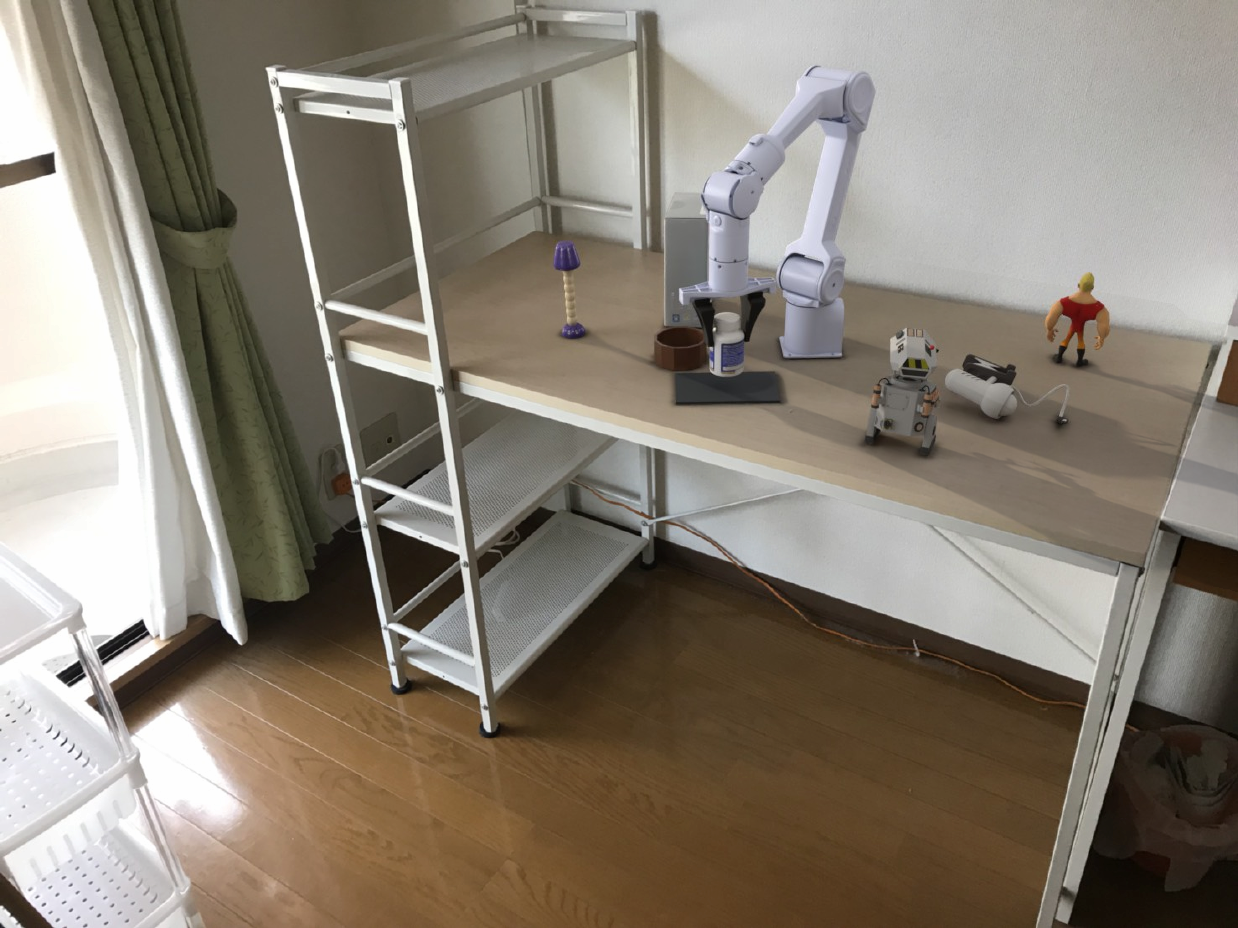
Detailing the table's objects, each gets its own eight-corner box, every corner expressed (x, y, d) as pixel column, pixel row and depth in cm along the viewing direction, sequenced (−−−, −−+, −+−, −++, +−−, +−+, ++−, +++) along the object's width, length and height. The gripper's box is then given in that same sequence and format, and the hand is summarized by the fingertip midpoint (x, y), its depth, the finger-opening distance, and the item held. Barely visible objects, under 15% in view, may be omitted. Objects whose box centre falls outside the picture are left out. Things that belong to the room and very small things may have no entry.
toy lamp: (581, 340, 173) (575, 248, 164) (555, 339, 174) (548, 247, 165) (587, 329, 177) (582, 238, 168) (562, 328, 178) (555, 237, 169)
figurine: (944, 425, 143) (958, 329, 135) (925, 463, 134) (939, 363, 127) (881, 413, 147) (892, 319, 139) (859, 449, 138) (869, 351, 130)
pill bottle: (749, 367, 154) (751, 314, 150) (733, 380, 151) (734, 326, 146) (719, 360, 157) (720, 307, 152) (702, 373, 153) (703, 319, 149)
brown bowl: (705, 347, 169) (705, 325, 167) (707, 369, 161) (707, 347, 159) (654, 348, 169) (654, 326, 167) (654, 370, 162) (653, 348, 160)
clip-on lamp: (1071, 425, 147) (960, 372, 155) (1091, 389, 144) (976, 336, 151) (1049, 452, 139) (932, 395, 146) (1069, 415, 135) (949, 357, 143)
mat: (774, 373, 159) (774, 371, 159) (780, 402, 151) (781, 400, 151) (674, 375, 160) (674, 373, 160) (675, 404, 152) (675, 402, 151)
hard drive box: (707, 329, 175) (708, 218, 165) (663, 328, 176) (662, 218, 166) (713, 295, 188) (715, 191, 178) (673, 294, 189) (672, 190, 179)
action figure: (1103, 363, 158) (1124, 273, 150) (1099, 372, 155) (1121, 281, 147) (1040, 352, 162) (1058, 264, 154) (1036, 361, 159) (1053, 272, 152)
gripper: (766, 242, 149) (763, 325, 156) (673, 252, 146) (674, 337, 153) (783, 257, 143) (779, 343, 150) (686, 269, 140) (686, 356, 148)
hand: (727, 342), depth 151 cm, fingers closed on pill bottle, 5 cm apart
